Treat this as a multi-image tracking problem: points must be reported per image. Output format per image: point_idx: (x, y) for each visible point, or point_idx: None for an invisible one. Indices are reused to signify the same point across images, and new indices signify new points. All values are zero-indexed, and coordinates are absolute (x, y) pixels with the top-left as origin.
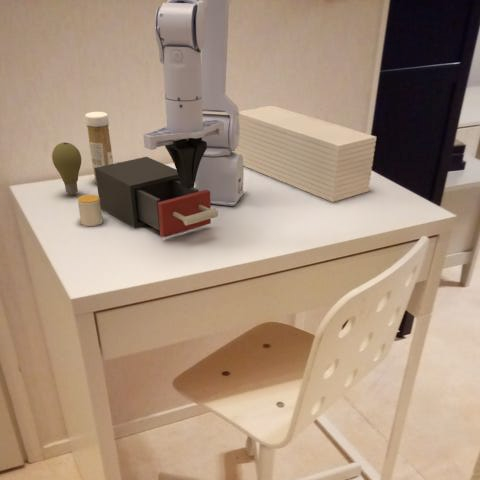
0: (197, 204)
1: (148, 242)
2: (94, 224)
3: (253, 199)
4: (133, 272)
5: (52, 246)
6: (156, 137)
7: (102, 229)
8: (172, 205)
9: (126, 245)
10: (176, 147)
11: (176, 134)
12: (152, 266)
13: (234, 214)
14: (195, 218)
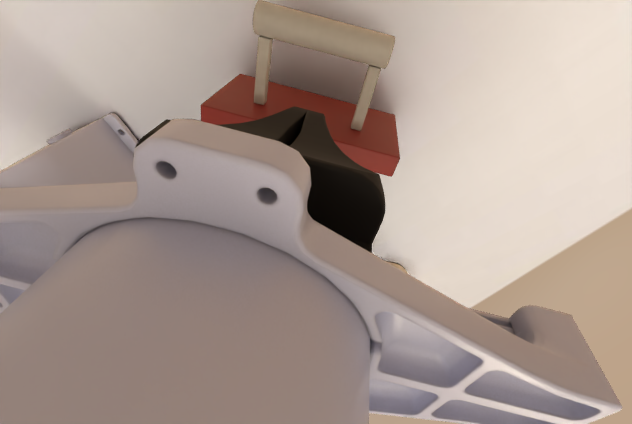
0: (265, 107)
1: (413, 141)
2: (399, 266)
3: (47, 103)
4: (625, 42)
5: (522, 268)
6: (568, 379)
7: (404, 247)
8: (358, 140)
9: (454, 169)
10: (367, 246)
11: (420, 314)
12: (562, 24)
13: (138, 79)
14: (360, 29)
